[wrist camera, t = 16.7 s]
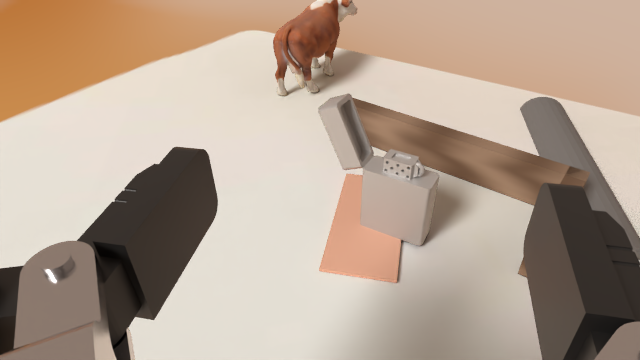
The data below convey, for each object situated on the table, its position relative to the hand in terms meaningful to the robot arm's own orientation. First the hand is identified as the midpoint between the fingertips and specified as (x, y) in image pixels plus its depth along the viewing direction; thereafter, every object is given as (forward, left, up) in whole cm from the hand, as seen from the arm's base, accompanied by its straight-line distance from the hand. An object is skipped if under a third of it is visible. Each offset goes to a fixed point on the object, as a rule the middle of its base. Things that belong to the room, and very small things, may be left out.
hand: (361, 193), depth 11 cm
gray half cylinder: (-2, -26, -14) cm, 30 cm away
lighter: (+6, -12, -13) cm, 19 cm away
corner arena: (+6, -17, -13) cm, 22 cm away
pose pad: (+7, -12, -13) cm, 19 cm away
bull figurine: (+23, -28, -13) cm, 39 cm away
